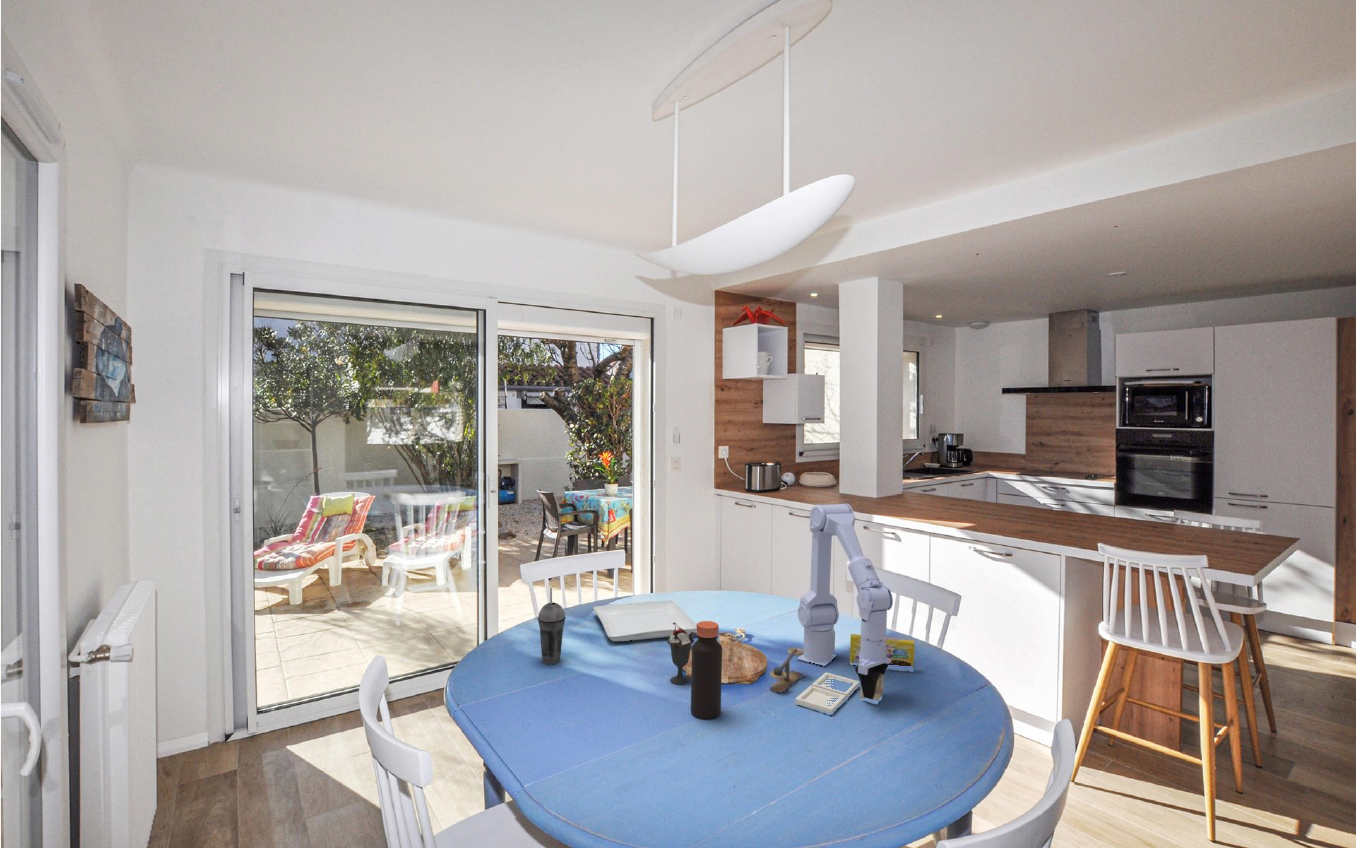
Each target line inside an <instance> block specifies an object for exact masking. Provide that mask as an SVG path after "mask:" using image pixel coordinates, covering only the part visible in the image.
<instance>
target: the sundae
mask: <svg viewBox="0 0 1356 848" xmlns="http://www.w3.org/2000/svg"><path fill="white" fill-rule="evenodd" d="M673 624H674V625H675V624H676V623H673ZM676 625H677V624H676ZM678 628H679V627H678ZM675 629H676V626H675ZM666 642H667V644H668V645H669V646H670V652H671V653H670V655H671V661H672V663H673V664H674V665H675V666H676V667H677V675H675V676H672V677H671V678H669V681H670V683H672V684H674V685H677V686H678V685H679V686H683V685H684V686H685V685H687V684H688V683H690V681H691V680H690V678H689V677H687V676H685V675H684V674H683V673H684V672H683V670H684V669H683V668H684V667H685V666H686V665H687V664H688V663H689V661H690V654H691V650H692V645H693V644H694V643H695V639H694V632H691V633H690V634H688V633H687V632H686V631H685V630H683V629H682V628H679V629H678V631H677V630H674V631H673V634H672V635H671V637H668V638H667V641H666Z"/></svg>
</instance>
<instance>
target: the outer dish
mask: <svg viewBox="0 0 1356 848" xmlns="http://www.w3.org/2000/svg"><path fill="white" fill-rule="evenodd" d="M827 695H828V696H827ZM831 698H838V699H837V700H836V699H835V700H836V701H835V702H832V701H829V700H834V699H831ZM845 699H846V695H843V694H839V693H836V692H832V691H829V690H825V689H822V688H818V687H815V686H812V685H809V686H808V687H807V688H806V689H805V690H803V692H801V693H800V694H799V695H798V696H796V698H795V700H794V705H795V704H796V705H795V706H797V705H801V706H805V707H809V708H812V709H815V710H820V711H824V712H830V713H831V714H832V712H834V710H836V708H837V707H838V706H839V705H840V704H841V703H842V702H843V701H844V700H845ZM827 700H828V701H827ZM827 703H828V704H827ZM829 703H830V704H829ZM832 703H833V704H832ZM828 705H831V706H828Z"/></svg>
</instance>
